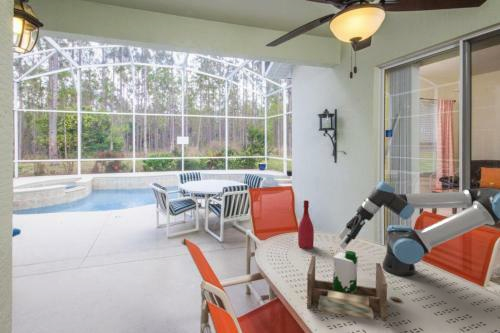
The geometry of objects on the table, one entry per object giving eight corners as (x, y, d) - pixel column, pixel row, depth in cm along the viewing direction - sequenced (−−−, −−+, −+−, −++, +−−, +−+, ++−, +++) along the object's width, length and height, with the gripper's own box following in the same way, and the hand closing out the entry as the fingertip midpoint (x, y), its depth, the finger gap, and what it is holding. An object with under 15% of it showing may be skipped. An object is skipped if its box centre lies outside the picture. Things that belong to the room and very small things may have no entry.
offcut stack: (371, 311, 109) (372, 297, 109) (373, 320, 104) (373, 304, 103) (318, 303, 115) (319, 289, 115) (318, 311, 110) (318, 296, 109)
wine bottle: (313, 249, 174) (314, 202, 172) (297, 248, 176) (298, 201, 174) (313, 244, 184) (313, 199, 182) (298, 243, 186) (298, 198, 184)
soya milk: (351, 305, 113) (352, 257, 111) (330, 298, 118) (330, 252, 117) (358, 296, 119) (359, 251, 118) (338, 290, 125) (338, 246, 124)
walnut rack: (379, 295, 121) (380, 263, 120) (385, 321, 103) (387, 284, 102) (311, 285, 129) (312, 255, 128) (307, 307, 111) (307, 273, 110)
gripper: (358, 199, 148) (333, 230, 153) (364, 211, 124) (335, 246, 129) (370, 208, 147) (345, 238, 152) (379, 221, 123) (349, 257, 128)
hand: (340, 242), depth 140 cm, fingers open, 13 cm apart
